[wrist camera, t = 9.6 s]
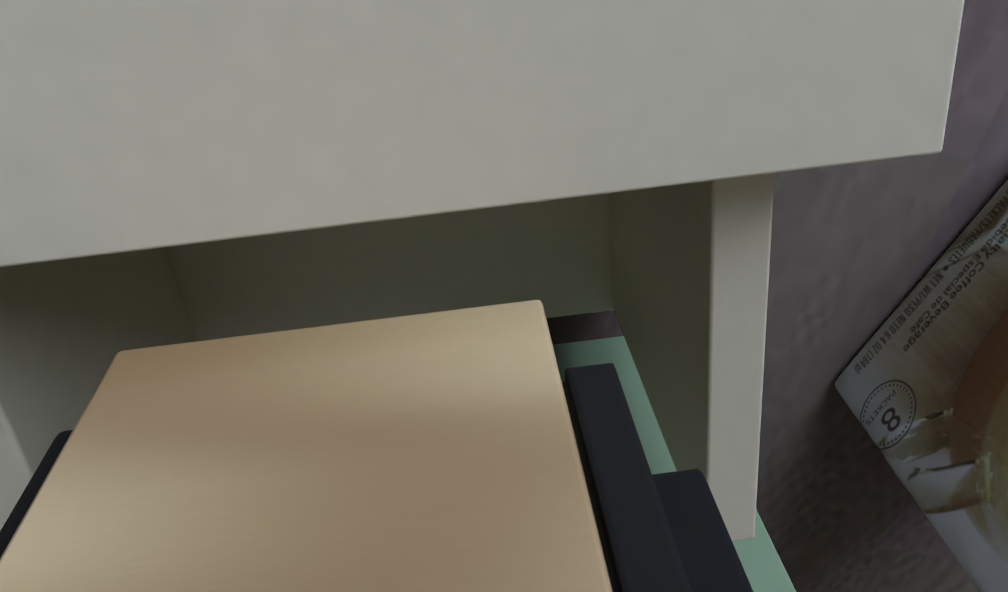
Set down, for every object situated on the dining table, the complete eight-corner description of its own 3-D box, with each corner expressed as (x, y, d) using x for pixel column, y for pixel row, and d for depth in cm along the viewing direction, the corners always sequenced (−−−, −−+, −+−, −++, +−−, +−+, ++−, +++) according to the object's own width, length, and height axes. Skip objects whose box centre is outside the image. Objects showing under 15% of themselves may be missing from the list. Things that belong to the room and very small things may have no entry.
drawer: (670, 495, 25) (786, 808, 17) (218, 555, 24) (124, 902, 17) (665, -319, 16) (910, -450, 8) (-54, -243, 15) (-543, -301, 8)
